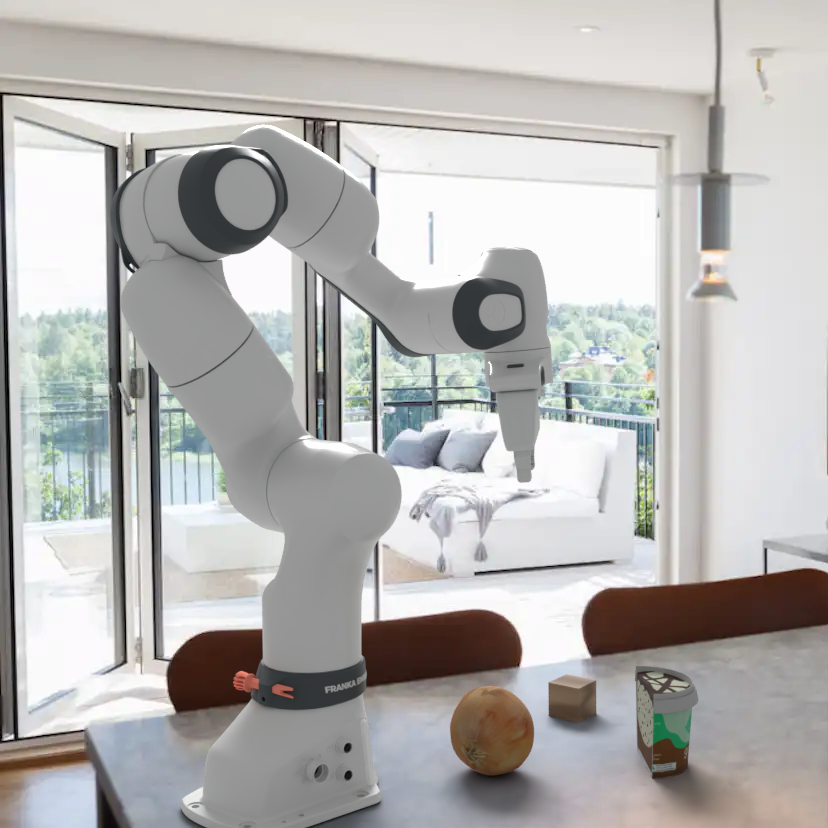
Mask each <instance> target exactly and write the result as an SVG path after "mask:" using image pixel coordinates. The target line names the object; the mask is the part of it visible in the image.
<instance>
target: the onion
mask: <svg viewBox="0 0 828 828" xmlns="http://www.w3.org/2000/svg"><path fill="white" fill-rule="evenodd" d="M527 707H528V706H526V704H525V703H524V702H523V700H522V699H521V698H519V697H518V696H517V695H516V694H514V693H513V692H512V691H509V690H508V689H506V688H503V687H500V686H494V685H487V686H480V687H476V688H473V689H470V690H469V691H467V692H466V693H465V694H464V695H463V697H462V698H461V699H460V701H459V702H458V704H457V706H456V707H455V708H454V711H453V713H452V716H451V719H450V723H449V731H450V742H451V745H452V749H453V751H454V753H455V756H457V757H458V759H459V760H460V761H461V762H462V763H463V764H465V765H466V766H467V767H468V768H470V769H471V770H472V771H474V772H477V773H479V774H482V775H485V776H498V775H499V776H500V775H504V774H509V773H510V772H513V771H515V770H517V769H519V768H521V766H522V765H523V764H524V762H525V761H526V760H527V758H528V757H529V756H530V754H531V752H532V750H533V747H534V739H535V725H534V720H533V717H532V715H531V713H530V711H529V709H528V708H527Z"/></svg>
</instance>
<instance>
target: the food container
mask: <svg viewBox="0 0 828 828" xmlns="http://www.w3.org/2000/svg"><path fill="white" fill-rule="evenodd" d="M634 681H635V707H636V708H635V710H636V713H635V715H636V717H635V718H636V749H637V751H638V754H639V755H640V757H641V759H642V761H643V763H644V765H645V767H646V769H647V771H648V773H649V775H650V777H651V779H665V778H669V777H670V778H671V777H676V776H678V775H680V774H682V773H684V772H686V770H687V769H688V765H689V764H688V763H689V755H690V754H689V752H690V739H691V725H692V724H691V723H692V714H693V713H692V712H693V707H695V706H696V705H697V704H698V702H699V695H698V690H697V687H696V684H695V683H694V680H693V678H692V677H691V676H689V675H688V674H686V673H684V672H682V671H678V670H675V669H671V668H666V667H660V666H651V665H635V671H634Z"/></svg>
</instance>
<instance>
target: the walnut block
mask: <svg viewBox="0 0 828 828" xmlns="http://www.w3.org/2000/svg"><path fill="white" fill-rule="evenodd" d="M547 684H548V717H552V718H556V717H557V719H560V718H561V720H564V719H566V720H565V721H569V720H570V722H573V721H574V722H573V723H578V724H580V723H581V722H584V721H585V720H587V719H589V718H591V717H592V716H596V715H597V680H596V679H592V678H586V677H582V676H577V675H572V674H563V675H562V676H559V677H557V678H555V679H553V680H550V681H549V682H548V683H547Z"/></svg>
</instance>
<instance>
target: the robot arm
mask: <svg viewBox="0 0 828 828" xmlns="http://www.w3.org/2000/svg"><path fill="white" fill-rule="evenodd" d="M379 210H380V209H379V204H378V201H377V199H376V197H375V195H374V194H373V193H372V191H370V189H369V188H368V186H367V185H365V183H364V182H362V181H361V180H360V178H358V177H357V176H356V175H355V174H353V173H352V172H350V170H348V169H346V168H345V167H344V166H343V165H341V164H340V163H339V162H337V161H336V160H334V159H333V158H332V157H330V156H329V155H328V154H326V153H324V152H322V151H321V150H320V149H318V148H317V147H315V146H313V145H312V144H311V143H308V142H306V141H304V140H303V139H301V138H299V137H297V136H295V135H293V134H291V133H289V132H287V131H285V130H282V129H281V128H278V127H276V126H273V125H268V124H266V125H265V124H261V125H256V126H252V127H250V128H247V129H246V130H244V131H243V132H241V133H239V135H237V136H236V138H234V139H233V141H232V142H231V143H230V144H221V145H220V144H219V145H218V144H216V145H210V146H207V147H205V148H202V149H200V150H197V151H192V152H187V153H180V154H174V155H170V156H169V157H168V156H167V157H165V158H164V159H161V160H159V161H157V162H155V163H153V164H152V165H150V166H147V167H145V168H142V169H139V170H137V171H134V173H132V174H131V175H130V176H128V177H127V178H126V179H125V180H123V182H122V183H121V184H120V185H119V187H118V188H117V189H116V191H115V193H114V195H113V197H112V200H111V203H110V209H109V220H110V226H111V229H112V233H113V237H114V239H115V241H116V243H117V246H118V248H119V249H120V253H121V254H120V255H121V260H122V263H123V265H124V267H125V268H126V269H127V271H128V272H130V273H131V274H132V275H131V276H130V277H129V278H128V280H127V281H126V282H125V285H124V286H123V289H122V292H121V295H120V308H121V312H122V315H123V318H124V320H125V321H126V323H127V325H128V328H129V330H130V332H131V333H132V335H133V337H134V339H135V341H136V343H137V344H138V346H139V348H140V349H141V351H142V353H143V354H144V356H145V358H146V359H147V360H148V363H149V364H150V365H151V367H152V369H153V370H154V371H155V373H156V374H157V375H158V377H159V378H160V379H161V381H162V382H163V383H164V384H165V386H166V387H167V388H168V390H169V391H170V392H171V393H172V395H173V396H174V398H175V399H176V400H177V402H178V403H179V404H180V406H181V407H182V408H183V409H184V411H185V412H186V414H187V415H188V416H189V417H190V419H192V421H193V422H194V423H195V425H196V426H197V427H198V429H199V430H200V432H201V433H202V434H203V436H204V437H205V439H206V440H207V442H208V443H209V446H211V448H212V450H213V453H214V454H215V456H216V458H217V461H218V463H219V464H220V468H221V469H222V471H223V473H224V475H225V491H226V495H227V498H228V500H229V502H230V504H231V505H232V506H233V508H234V509H235V510H236V511H237V512H238V513H239V514H240V515H242V516H243V517H245V518H246V519H247V520H249V521H250V522H252V523H254V524H255V525H257V526H258V527H260V528H262V529H265V530H268V531H272V532H277V533H278V532H279V533H282V534H283V535H284V545H283V551H282V555H281V559H280V563H279V567H278V570H277V572H276V575H275V576H274V578H273V579H272V580H270V581H269V583H268V584H267V585H266V586H265V587H264V589H263V592H262V596H261V610H262V611H261V619H262V620H261V621H262V623H261V627H262V659H260V662H259V664H258V668H257V670H256V674H254V673H248V672H246V671H243V670H240V671H238V672H236V673H235V676H234V677H233V679H232V680H234V681H233V682H232V684H233V687H235V690H238V691H245V692H246V693H250V697H251V699H250V700H249V702H248V703H247V704H246V705H245V706H244V708H243V709H242V710H241V711H240V713H239V714H238V715H237V716H236V718H235V719H234V720H233V721H232V722H231V723H230V725H229V726H228V727H227V728H226V729H225V731H223V733H222V734H221V735H220V736H219V738H218V739H217V740H216V741H215V742H214V743H213V744H212V746H210V748H209V750H208V752H207V755H206V759H205V763H204V771H203V781H202V783H203V784H202V785H201V787H199V788H197V789H196V790H194V791H192V792H190V793H189V794H186V795H185V796H184V797H182V799H181V803H180V807H181V810H182V813H183V815H185V816H186V817H187V818H188V819H189V820H191V821H192V822H194V823H196V824H198V825H200V826H202V827H204V828H309V827H311V826H314V825H318V824H320V823H323V822H327V821H329V820H332V819H335V818H337V817H340V816H343V815H347V814H349V813H352V812H355V811H358V810H360V809H363V808H367V807H370V806H373V805H375V804H378V803H380V802H381V800H382V797H381V789H380V787H379V786H378V784H379V783H378V782H379V776H378V774H377V770H376V768H375V764H374V759H373V749H372V742H371V735H370V734H371V733H370V727H369V721H368V717H367V713H366V708H365V703H364V693H365V692H366V690H367V675H368V673H367V669H366V659H365V656H363V655H362V609H363V608H362V607H363V606H362V603H363V602H362V600H363V590H364V584H365V579H366V575H367V570H368V567H369V566H368V565H369V563H370V559H371V557H372V554H373V551H374V549H375V547H376V545H377V543H378V542H379V540H380V539H382V538H381V537H383V536H384V535H385V534H387V532H388V531H389V530H390V529H391V528H392V526H393V525H394V523H395V521H396V519H397V517H398V515H399V512H400V511H401V510H400V509H401V505H402V498H403V497H402V496H403V495H402V485H401V481H400V477H399V475H398V473H397V470H396V468H395V467H394V466H393V465H392V463H390V462H389V460H387V458H385V457H383V456H381V455H380V454H379V453H378V454H377V453H376V452H374V451H372V450H370V449H368V448H366V447H363V446H361V445H358V444H356V443H353V442H348V441H336V440H327V439H326V440H325V439H318V438H317V437H316V436H313V434H311V433H310V432H309V431H308V430H307V429H306V428H305V427H304V426H303V425H302V423H301V421H300V419H299V417H298V414H297V412H296V408H295V406H294V403H293V401H292V400H293V396H294V382H293V378H292V377H291V374H290V373H289V372H288V370H287V368H286V367H285V366H284V365H283V364H282V362H281V361H280V359H279V358H278V356H277V355H276V353H275V352H274V350H273V349H272V348H271V346H270V345H269V344H268V342H267V341H266V340H265V338H264V337H263V335H262V334H261V332H260V331H259V329H258V328H257V327H256V325H255V324H254V322H253V321H252V319H251V318H250V317H249V316H248V314H247V312H245V310H244V309H243V307H242V306H241V305H240V304H239V303H238V302H237V300H236V299H235V298H234V297H233V295H232V292H231V291H230V287H229V286H228V283H227V281H226V277H225V272H224V265H223V260H222V259H223V258H226V257H229V256H231V255H238V254H242V253H245V252H247V251H250V250H252V249H253V248H255V247H256V246H258V245H259V244H261V243H262V242H263V241H264V240H266V239H267V238H268V237H270V238H272V240H273V241H276V242H277V243H278V244H279V245H281V246H282V247H284V248H286V250H288V251H290V252H292V253H293V254H295V255H296V256H298V257H299V258H300V259H302V260H303V261H304V262H305V263H307V264H308V266H310V268H311V269H312V270H313V271H314V273H316V274H317V275H318V276H319V277H320V278H321V279H322V280H324V281H325V282H326V283H327V284H328V285H330V286H331V287H332V288H333V289H334V290H336V292H338V293H340V294H341V295H342V296H343V297H344V298H345V299H347V300H348V301H349V302H351V303H352V304H353V305H355V306H356V307H357V308H358V309H360V311H362V312H363V313H365V314H366V315H367V316H368V317H369V318H370V319H371V320H372V321H373V322H374V323H375V325H376V326H377V327H378V328H379V330H380V332H381V333H382V335H383V336H384V337H385V339H386V341H387V342H388V343H389V345H390V346H391V347H392V348H393V349H394V350H395V351H396V352H398V353H399V354H401V355H403V356H405V357H409V358H421V357H427V356H434V355H450V354H452V355H454V354H464V353H465V354H467V353H468V354H470V353H473V354H474V353H481V352H483V362H484V372H485V373H484V376H485V386H486V388H490V391H491V393H495V400H496V406H497V407H496V408H497V411H498V419H499V424H500V430H501V435H502V440H503V443H504V448H505V450H506V451H507V452H512V453H513V460H514V465H515V470H516V479H517V482H518V483H521V484H522V483H529V482H531V480H532V478H533V477H532V476H533V475H532V474H533V473H532V471H533V470H535V467H536V463H535V462H536V461H535V446H536V442H537V439H538V436H539V432H540V428H541V423H540V422H541V420H540V419H541V418H540V406H539V398H540V397H541V398H542V397H544V396H545V392H546V391H545V386H546V385H548V384H551V383H553V382H554V373H553V370H554V369H553V359H552V346H551V340H550V338H549V336H548V330H547V322H548V316H549V304H548V293H547V285H546V279H545V274H544V269H543V266H542V263H541V260H540V258H539V256H538V255H537V253H535V252H533V251H532V250H530V249H527V248H524V247H518V246H516V247H515V246H495V247H490V248H487V249H485V250H483V251H482V252H481V254H480V258H479V259H478V260H477V261H476V263H474V264H473V265H472V266H471V267H470V268H468V269H467V270H465V271H463V272H461V273H459V274H458V275H457V276H454V277H449V278H439V279H431V280H430V279H429V280H415V279H407V278H403V277H400V276H398V275H396V274H395V273H394V272H393V271H392V270H390V269H389V268H388V266H387V265H385V264H383V263H382V262H381V260H380V259H378V258H377V257H375V255H373V254H372V253H371V252H370V251H371V249H372V248H373V244H374V242H375V240H376V238H377V235H378V231H379V226H380V211H379ZM131 266H132V267H133V268H135V269H136V270H135V269H133V268H132V267H131Z"/></svg>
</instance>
